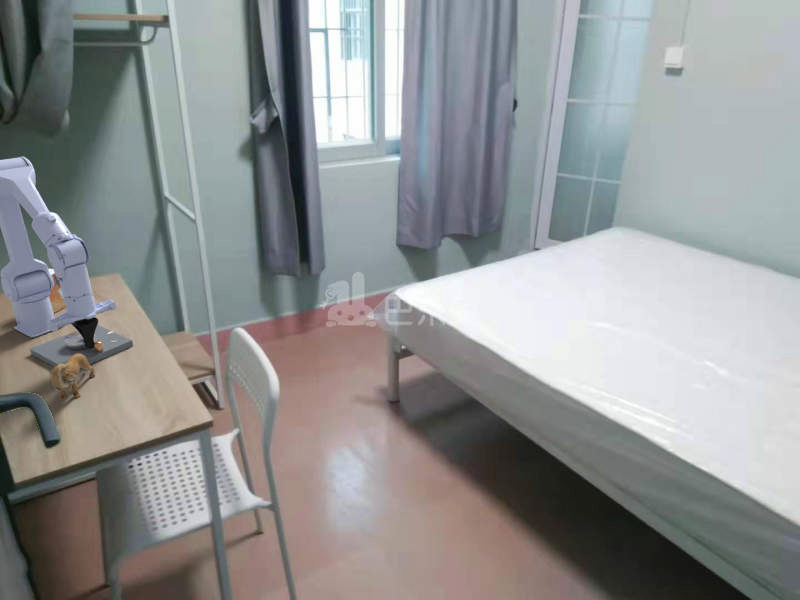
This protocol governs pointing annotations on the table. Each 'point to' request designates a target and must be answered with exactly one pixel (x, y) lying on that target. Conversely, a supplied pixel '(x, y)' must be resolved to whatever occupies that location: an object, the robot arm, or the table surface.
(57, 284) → the small box
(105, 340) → the dial board
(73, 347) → the dial
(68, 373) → the lion figurine
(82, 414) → the table surface
